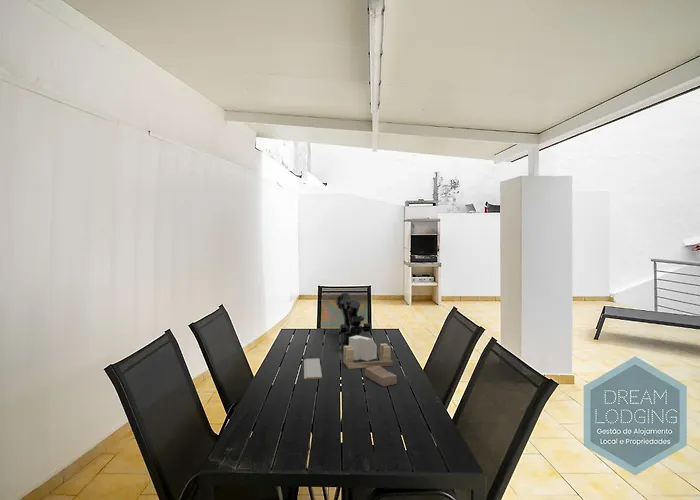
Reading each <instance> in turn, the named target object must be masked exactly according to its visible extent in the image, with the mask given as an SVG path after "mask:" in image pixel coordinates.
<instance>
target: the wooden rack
mask: <svg viewBox="0 0 700 500" xmlns="http://www.w3.org/2000/svg"><path fill="white" fill-rule="evenodd" d="M353 353H354V349H353V348H352V347H351V346H349V345H343V363H344V365H345V366H346V367H347V369H348V370H351V369H352V370H353V369H365V368H369V367H373V366H381V367H382V368H384V367H393V363H394V361H393V360H392V359H391V355H392V354H391V353H392V352H391V346H390V345H389V344H388V343H379V360H378V361H375V360H374V361H362V362H354V360H353Z"/></svg>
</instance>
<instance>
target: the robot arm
mask: <svg viewBox="0 0 700 500" xmlns="http://www.w3.org/2000/svg"><path fill="white" fill-rule="evenodd" d="M335 303H336V306H337V308H338V309H339V310H341V312H342V313H341V314H342V317H343V320H344V322H343V324H340V325H339V331H338V332H339V333H340V334H343V342H342V344H346V345H349V337H352V336H356V335H358V336H360V334H361V333H362V332H364V333H369V332H371V329H372V328H373V327H372V324H371V323H370V322H369V323H368V322H366V323H363V325H361V324H362V322H364V321H365V317H364V315H363V314H361V315H358V313H359V311H360V308H361V303H360V302H359V301H358V300H357V299H352V298H351V296H350V294H349V293H347V292H346V293H344V292H343V293H340V295H338V296H337V298H336V301H335Z"/></svg>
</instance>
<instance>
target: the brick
mask: <svg viewBox="0 0 700 500" xmlns="http://www.w3.org/2000/svg"><path fill="white" fill-rule="evenodd" d="M364 374H365V377H366V378H368V379H369V380H371V381H373V382H375V383H377V385H380V386H381V387H387V386H394V384H395V385H397V383H398V382H397V378H398V377H397V375H396V374H395V373H393V372H390V371H388V370H387V369H385V367H381V366H373V367H369V368H364Z"/></svg>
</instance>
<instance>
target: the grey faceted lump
mask: <svg viewBox="0 0 700 500" xmlns="http://www.w3.org/2000/svg"><path fill="white" fill-rule="evenodd" d="M348 346H351V347H352V348H353V349H354V353H353V361H359V360H361V361H364V362H370V361H372V360H375V359H377V357H378V356H377V355H378V354H377V352H378V351H377V350H378V349H377V348H378V347H377V344H376V343H375V341H374V339H372V338H370V337H366V336H363V335H359V336H358V335H356V336H352V337H349V344H348Z"/></svg>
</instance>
